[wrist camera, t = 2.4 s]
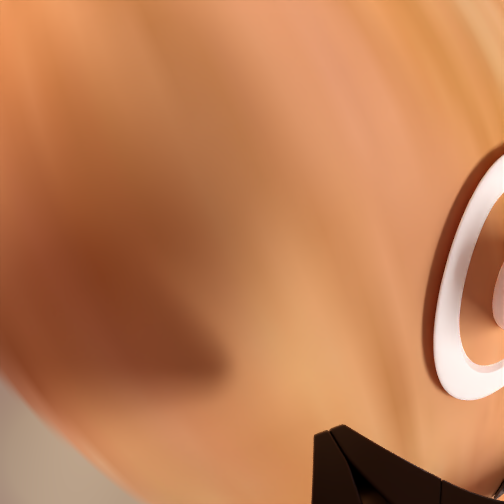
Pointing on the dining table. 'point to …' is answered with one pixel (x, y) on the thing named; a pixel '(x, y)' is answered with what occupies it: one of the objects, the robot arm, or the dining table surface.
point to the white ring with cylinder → (449, 300)
